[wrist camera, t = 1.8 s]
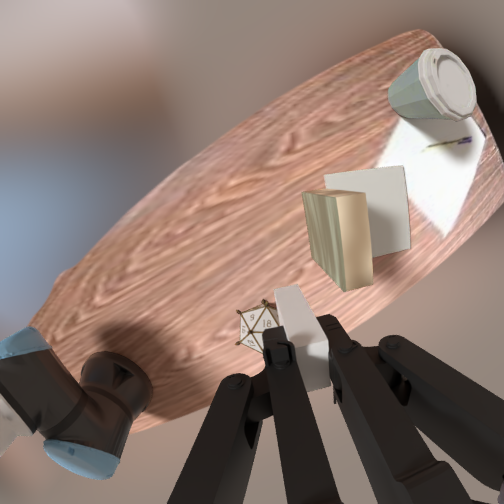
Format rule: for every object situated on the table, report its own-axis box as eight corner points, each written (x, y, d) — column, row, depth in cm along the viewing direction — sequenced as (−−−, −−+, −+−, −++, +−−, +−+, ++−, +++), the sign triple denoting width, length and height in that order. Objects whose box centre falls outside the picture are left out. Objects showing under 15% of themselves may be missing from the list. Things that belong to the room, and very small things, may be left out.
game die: (267, 297, 47) (311, 300, 39) (266, 346, 46) (308, 358, 38) (221, 298, 42) (261, 302, 34) (220, 352, 41) (259, 368, 33)
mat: (336, 264, 42) (337, 265, 42) (323, 174, 39) (324, 174, 38) (408, 247, 42) (410, 248, 42) (401, 165, 39) (402, 165, 38)
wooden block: (311, 257, 42) (343, 292, 28) (301, 192, 39) (333, 197, 26) (333, 252, 42) (373, 284, 28) (324, 188, 39) (365, 192, 26)
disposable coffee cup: (429, 94, 36) (484, 76, 21) (418, 142, 38) (479, 135, 23) (382, 63, 34) (431, 29, 20) (368, 111, 37) (422, 87, 22)
